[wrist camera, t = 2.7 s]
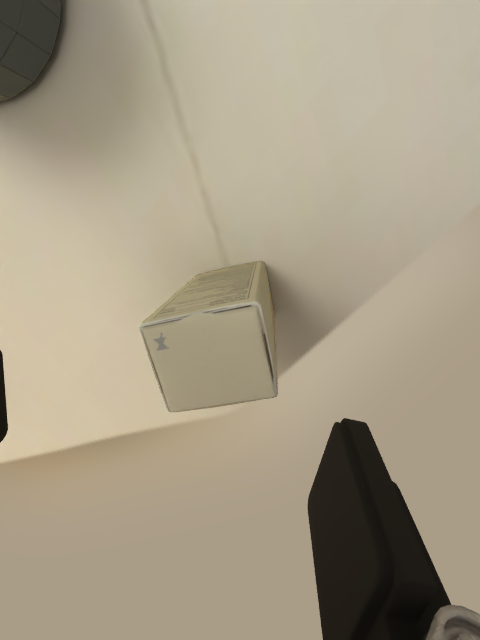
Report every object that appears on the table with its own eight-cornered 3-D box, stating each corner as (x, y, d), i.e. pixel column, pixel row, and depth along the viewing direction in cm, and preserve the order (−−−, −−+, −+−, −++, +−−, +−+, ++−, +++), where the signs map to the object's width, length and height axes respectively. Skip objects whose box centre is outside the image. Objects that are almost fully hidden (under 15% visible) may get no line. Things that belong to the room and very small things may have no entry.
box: (209, 328, 25) (160, 416, 14) (195, 272, 23) (129, 324, 13) (278, 316, 24) (280, 401, 13) (267, 258, 22) (259, 300, 12)
